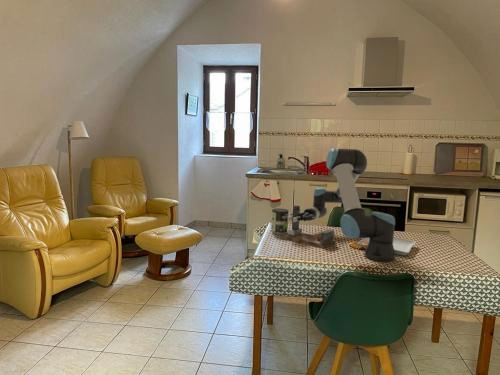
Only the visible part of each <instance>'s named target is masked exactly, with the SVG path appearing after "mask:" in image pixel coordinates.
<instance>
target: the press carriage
mask: <svg viewBox="0 0 500 375" xmlns="http://www.w3.org/2000/svg"><path fill="white" fill-rule="evenodd" d="M300 207H301V205H293V209H292V214H293V218H294V217H297V216H300V213H301V209H300ZM291 221H292V222H291V228H288V229H287V233H288V235H292V236H295V235H298V234H301V233H303V228H302V227H300V221H297V222H293V219H292V220H291Z"/></svg>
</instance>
